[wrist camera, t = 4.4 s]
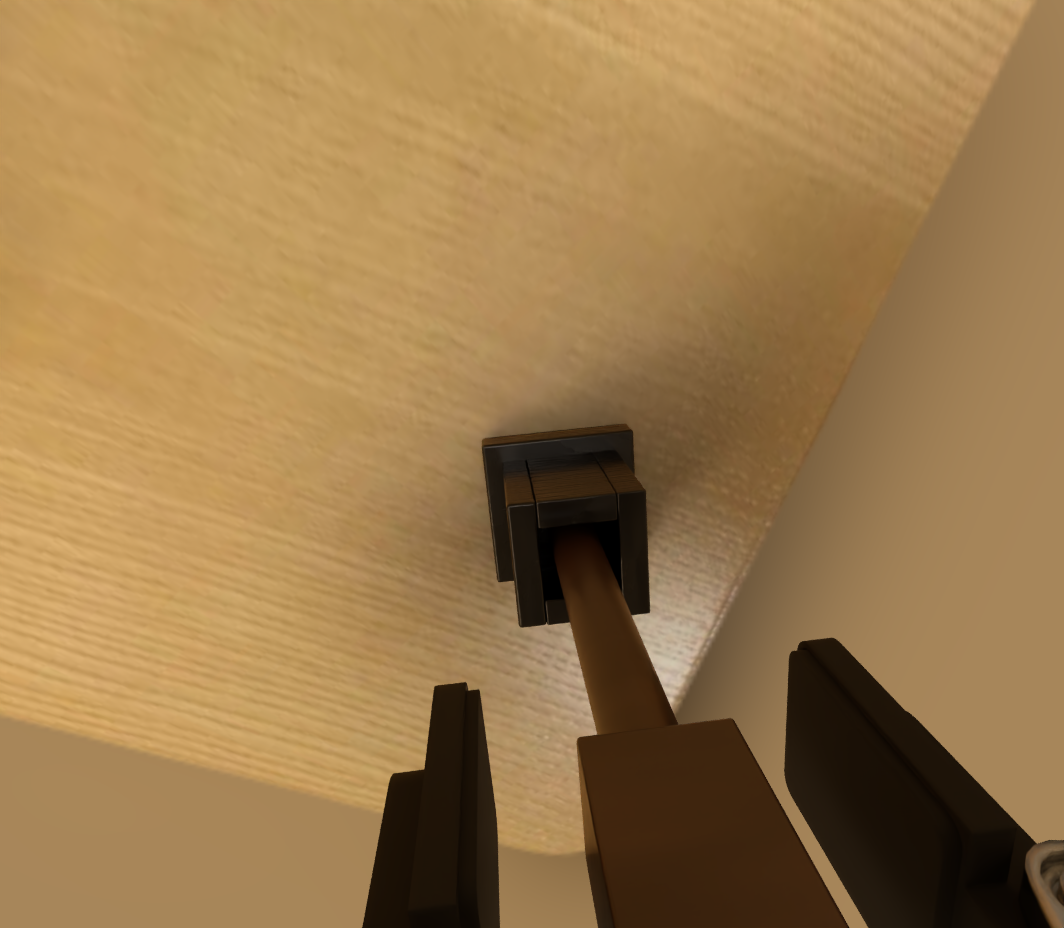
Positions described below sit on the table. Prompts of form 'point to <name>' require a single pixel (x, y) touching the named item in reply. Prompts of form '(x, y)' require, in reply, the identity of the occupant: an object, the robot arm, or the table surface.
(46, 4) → the table surface
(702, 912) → the stick
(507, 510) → the holder
